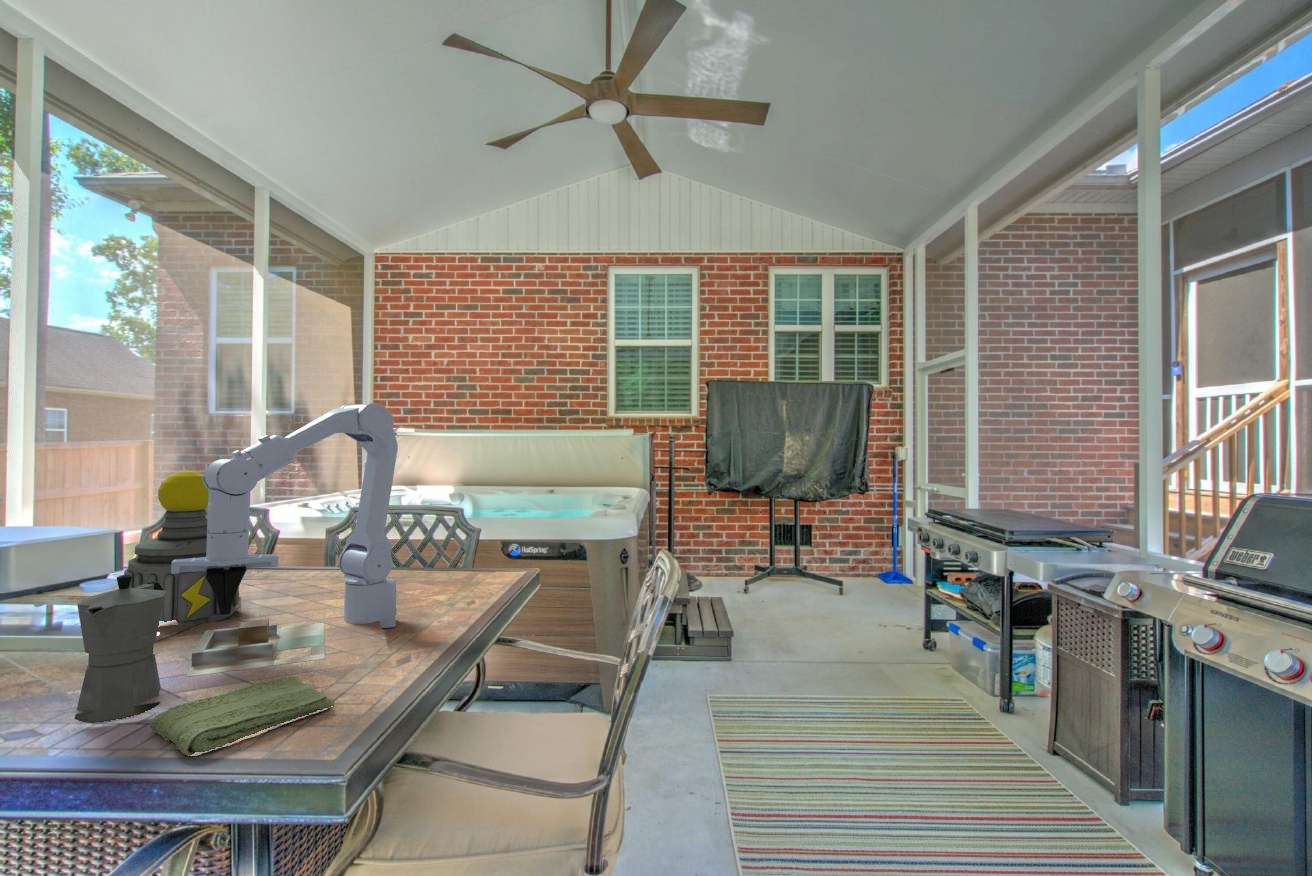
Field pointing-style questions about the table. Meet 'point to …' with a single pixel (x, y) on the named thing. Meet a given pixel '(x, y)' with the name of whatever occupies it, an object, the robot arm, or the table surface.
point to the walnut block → (253, 632)
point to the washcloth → (237, 713)
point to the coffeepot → (120, 651)
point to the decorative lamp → (180, 553)
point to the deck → (254, 649)
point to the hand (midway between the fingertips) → (225, 613)
